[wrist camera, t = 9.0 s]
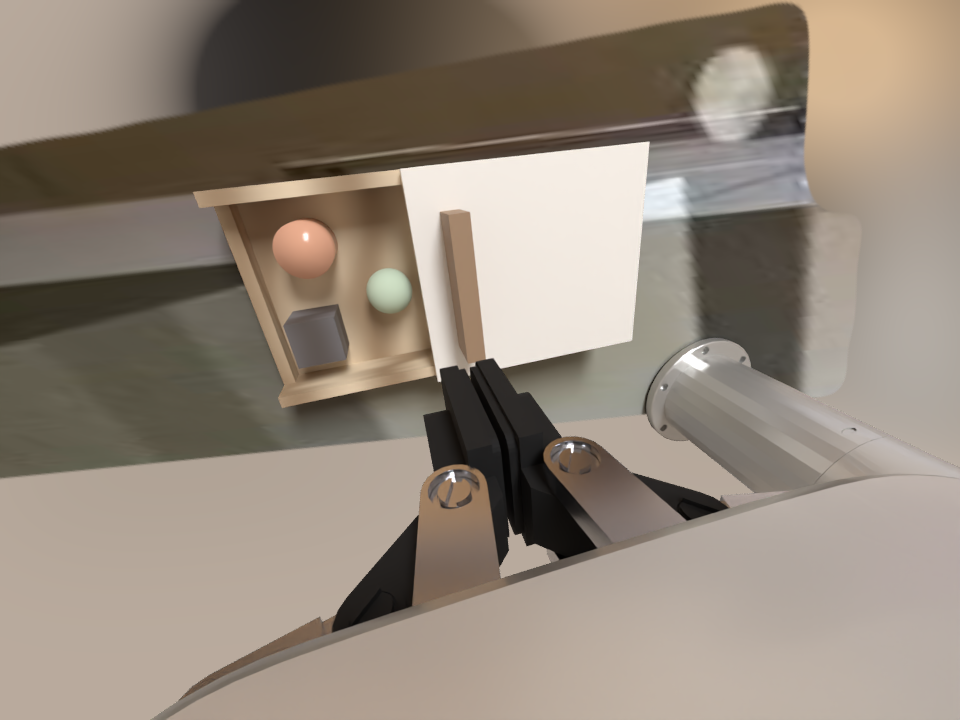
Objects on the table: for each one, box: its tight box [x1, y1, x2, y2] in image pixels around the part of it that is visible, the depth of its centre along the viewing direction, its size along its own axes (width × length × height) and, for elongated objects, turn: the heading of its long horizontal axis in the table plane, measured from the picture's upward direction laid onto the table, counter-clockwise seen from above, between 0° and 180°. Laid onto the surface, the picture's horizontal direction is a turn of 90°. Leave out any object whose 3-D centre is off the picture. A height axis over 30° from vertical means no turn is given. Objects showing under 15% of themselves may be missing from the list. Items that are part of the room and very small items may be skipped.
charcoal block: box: [283, 304, 349, 369], centre depth 26 cm, size 3×3×3 cm
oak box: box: [193, 170, 436, 408], centre depth 26 cm, size 16×14×4 cm
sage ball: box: [366, 268, 412, 314], centre depth 26 cm, size 3×3×3 cm
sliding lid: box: [399, 142, 649, 382], centre depth 24 cm, size 16×14×4 cm
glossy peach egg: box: [272, 218, 338, 279], centre depth 24 cm, size 3×3×3 cm
